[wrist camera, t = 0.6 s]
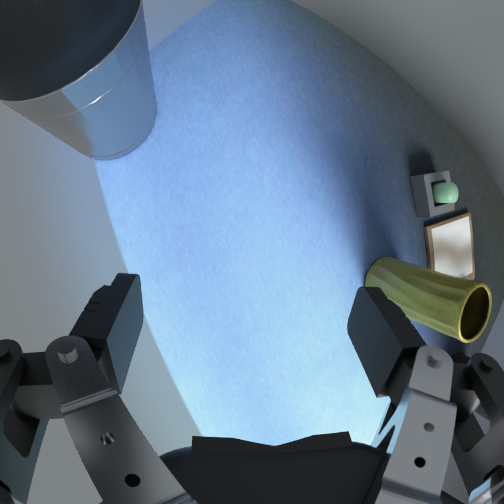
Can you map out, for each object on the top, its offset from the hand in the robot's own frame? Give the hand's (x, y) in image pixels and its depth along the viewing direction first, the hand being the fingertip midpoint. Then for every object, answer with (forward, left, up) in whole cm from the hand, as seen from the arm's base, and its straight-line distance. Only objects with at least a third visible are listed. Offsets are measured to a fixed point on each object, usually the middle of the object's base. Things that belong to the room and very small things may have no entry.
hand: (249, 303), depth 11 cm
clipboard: (+9, +31, -19) cm, 38 cm away
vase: (+9, +19, -19) cm, 29 cm away
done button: (0, +28, -18) cm, 33 cm away
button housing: (0, +28, -19) cm, 34 cm away
